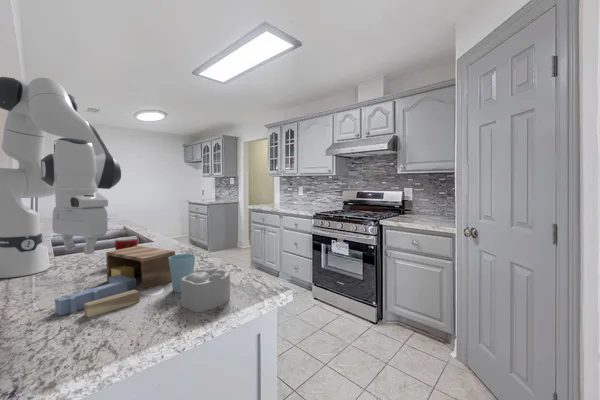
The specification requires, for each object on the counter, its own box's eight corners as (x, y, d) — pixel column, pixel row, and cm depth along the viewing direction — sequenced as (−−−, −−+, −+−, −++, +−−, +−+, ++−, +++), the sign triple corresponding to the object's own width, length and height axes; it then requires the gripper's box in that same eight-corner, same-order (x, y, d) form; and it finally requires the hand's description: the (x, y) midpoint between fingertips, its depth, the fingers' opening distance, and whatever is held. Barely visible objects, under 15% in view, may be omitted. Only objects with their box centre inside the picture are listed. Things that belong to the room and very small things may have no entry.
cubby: (107, 280, 98) (106, 251, 98) (139, 272, 108) (138, 245, 108) (144, 290, 89) (143, 258, 88) (175, 279, 99) (175, 251, 99)
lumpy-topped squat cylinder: (176, 304, 78) (176, 273, 78) (216, 290, 89) (216, 263, 88) (198, 314, 72) (198, 280, 72) (238, 298, 82) (238, 268, 82)
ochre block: (111, 281, 98) (111, 268, 98) (124, 277, 102) (124, 265, 102) (120, 284, 95) (120, 270, 95) (134, 280, 99) (133, 267, 99)
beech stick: (84, 316, 72) (84, 303, 72) (134, 300, 81) (134, 289, 81) (88, 318, 70) (88, 306, 70) (139, 302, 80) (138, 291, 80)
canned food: (128, 267, 115) (127, 240, 114) (111, 266, 116) (110, 239, 116) (142, 262, 122) (141, 237, 122) (126, 261, 124) (125, 236, 123)
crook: (43, 307, 76) (42, 294, 76) (118, 285, 93) (117, 274, 93) (63, 316, 71) (62, 301, 71) (138, 291, 88) (138, 279, 88)
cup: (175, 285, 93) (174, 253, 93) (199, 285, 93) (198, 253, 93) (164, 294, 86) (163, 259, 85) (190, 294, 86) (189, 259, 85)
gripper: (43, 199, 78) (45, 250, 78) (84, 201, 68) (86, 258, 69) (71, 199, 83) (72, 246, 84) (112, 199, 74) (113, 253, 74)
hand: (79, 251), depth 76 cm, fingers open, 8 cm apart
